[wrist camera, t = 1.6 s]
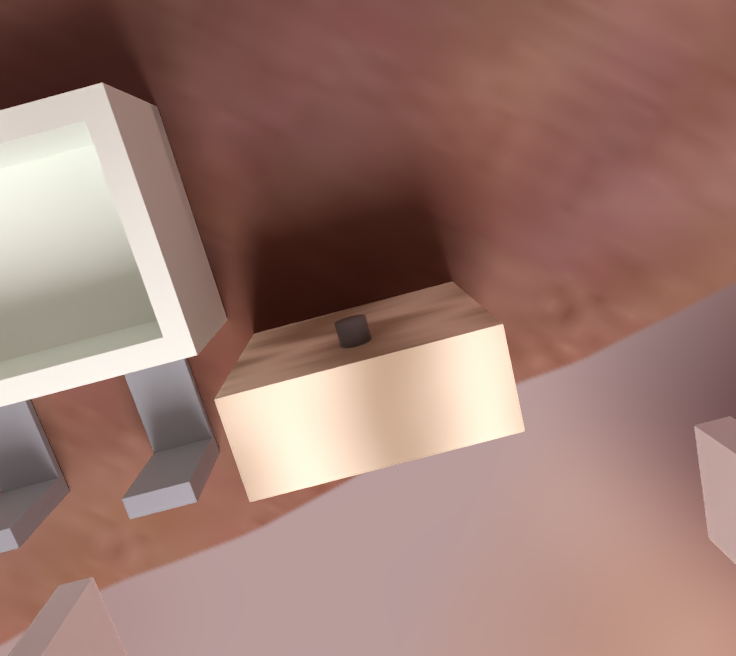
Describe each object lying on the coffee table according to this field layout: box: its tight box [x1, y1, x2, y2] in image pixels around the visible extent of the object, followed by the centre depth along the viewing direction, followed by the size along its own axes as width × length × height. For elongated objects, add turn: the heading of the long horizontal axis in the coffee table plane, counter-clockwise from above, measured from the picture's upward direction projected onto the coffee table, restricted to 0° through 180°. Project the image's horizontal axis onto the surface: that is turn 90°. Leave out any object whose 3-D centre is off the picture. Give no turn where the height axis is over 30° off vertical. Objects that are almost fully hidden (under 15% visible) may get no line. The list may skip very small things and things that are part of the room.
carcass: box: [0, 83, 227, 553], centre depth 25 cm, size 16×16×6 cm
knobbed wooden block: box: [214, 281, 525, 502], centre depth 24 cm, size 10×5×9 cm, turn 104°
